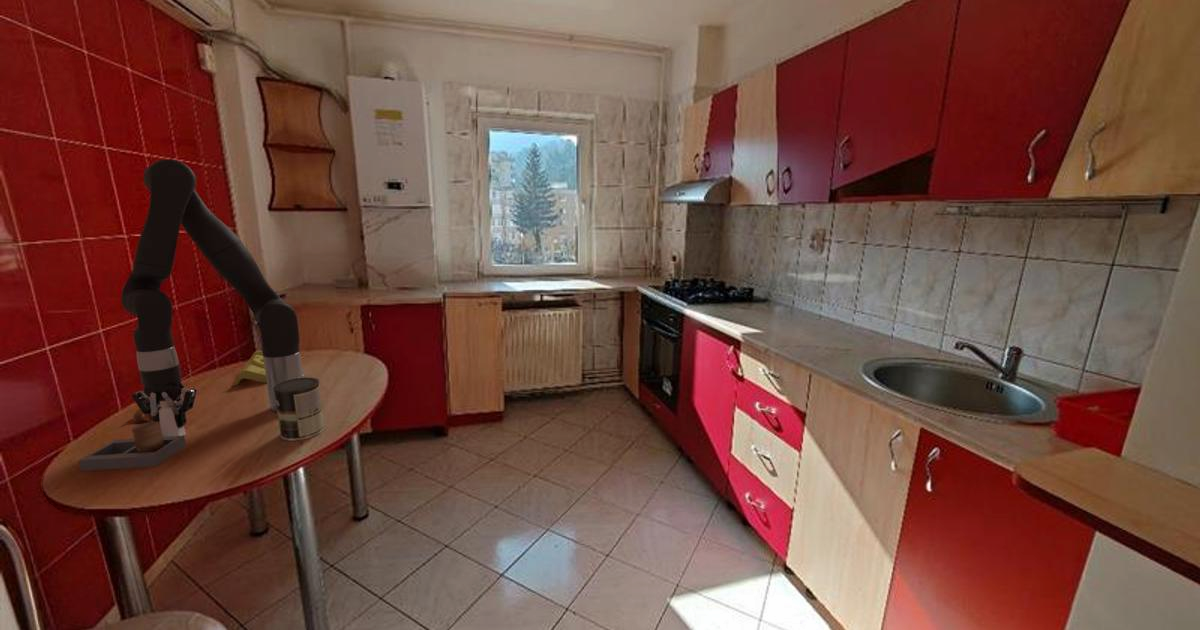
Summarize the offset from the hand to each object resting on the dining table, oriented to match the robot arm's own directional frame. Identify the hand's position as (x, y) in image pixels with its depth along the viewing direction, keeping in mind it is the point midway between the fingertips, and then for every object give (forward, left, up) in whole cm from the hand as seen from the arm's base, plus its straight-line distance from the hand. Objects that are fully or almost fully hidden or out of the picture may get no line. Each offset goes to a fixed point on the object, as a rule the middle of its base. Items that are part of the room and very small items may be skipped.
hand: (171, 426), depth 122 cm
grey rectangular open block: (0, +12, -3) cm, 12 cm away
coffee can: (-32, +1, -4) cm, 32 cm away
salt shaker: (0, 0, -3) cm, 3 cm away
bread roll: (+13, -15, -4) cm, 20 cm away
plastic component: (+3, -48, -4) cm, 48 cm away
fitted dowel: (-3, +12, -2) cm, 12 cm away
